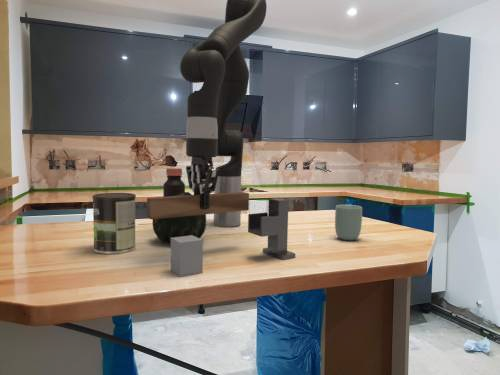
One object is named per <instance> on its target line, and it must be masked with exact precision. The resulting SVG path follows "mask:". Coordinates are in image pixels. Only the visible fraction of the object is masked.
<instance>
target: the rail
mask: <svg viewBox="0 0 500 375" xmlns="http://www.w3.org/2000/svg"><path fill="white" fill-rule="evenodd" d="M249 206H250V193H249V192H245V191H241V192H234V193H218V194H215V193H210V197H209V209H201V208H200V195H194V194H192V195H185V196H169V197H163V196H158V197H157V196H154V197H147V198H146V215H147V216H146V217H147V218H148V219H150V220H153V219H162V218H172V217H183V216H193V215H204V214H206V215H212V214H213V215H214V213H225V212H236V211H241V212H244V211H249V210H250V209H249Z"/></svg>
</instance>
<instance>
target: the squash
mask: <svg viewBox="0 0 500 375" xmlns="http://www.w3.org/2000/svg"><path fill="white" fill-rule="evenodd" d="M185 195H193V194H192V193H191V192H189V191H185V192H183V193H180V194H177V195H175V196H185ZM206 227H207V214H204V215H193V216H183V217H172V218H162V219H152V228H153V232H154V234H155V235H156V237H157V238H158V239H159V240H160V241H161V242H165V243H166V242H167V243H168V242H171V238H174V237H182V236H190V235H193V236H195V237H197V238H200V239H201V237H202V236H203V235H204V233H205V232H206Z"/></svg>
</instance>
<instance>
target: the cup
mask: <svg viewBox="0 0 500 375" xmlns="http://www.w3.org/2000/svg"><path fill="white" fill-rule="evenodd" d="M334 214H335V215H334V229H335V234H336V236H337V238H339V239H340V240H343V241H355V240H357V239H359V237H360V235H361V231H362V221H363V207H362V206H361V205H357V204H336V205H335V210H334Z"/></svg>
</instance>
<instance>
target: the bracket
mask: <svg viewBox="0 0 500 375" xmlns="http://www.w3.org/2000/svg"><path fill="white" fill-rule="evenodd" d="M267 211H268V212H267ZM267 211H266V212H265V211H264V212H257V213H248V215H247V216H248V219H247V222H248V223H247V233H249V234H253V235H255V236H258V237H262V238H263V237H267V247H263V248H262V253H264V254H267V255H270V256H272V257H274V258H277V259H279V260H282V261H283V260H290V259H294V258H296V253H295V252H293V251H290V250H288V232H289V230H288V228H289V227H288V226H289V199H285V198H280V197H279V198H278V197H277V198H268V210H267Z"/></svg>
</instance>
